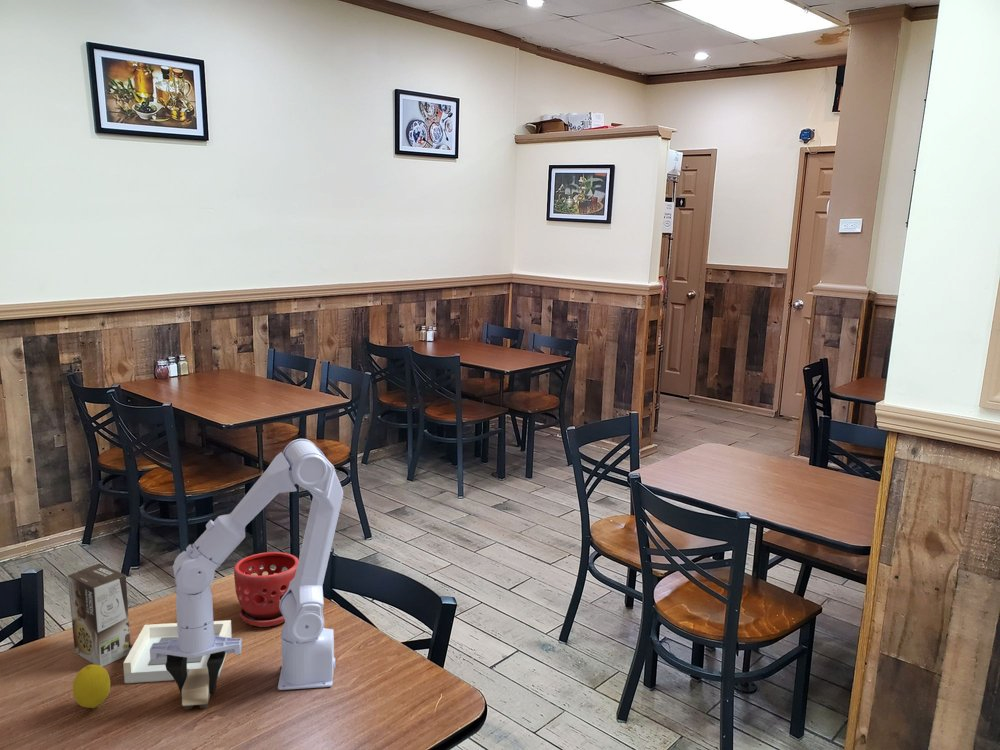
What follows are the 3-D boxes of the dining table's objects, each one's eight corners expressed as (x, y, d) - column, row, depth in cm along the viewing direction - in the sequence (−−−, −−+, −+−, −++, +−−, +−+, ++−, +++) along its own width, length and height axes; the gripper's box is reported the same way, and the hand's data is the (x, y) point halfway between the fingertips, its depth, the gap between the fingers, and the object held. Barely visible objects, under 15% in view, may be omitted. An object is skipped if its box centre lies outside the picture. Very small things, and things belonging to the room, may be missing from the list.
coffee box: (133, 653, 142) (127, 574, 139) (99, 669, 136) (93, 588, 133) (105, 637, 147) (100, 561, 143) (72, 652, 141) (66, 574, 138)
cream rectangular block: (214, 688, 132) (213, 667, 131) (207, 710, 126) (206, 688, 125) (191, 690, 131) (189, 669, 130) (182, 712, 125) (181, 689, 125)
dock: (231, 638, 148) (230, 620, 147) (218, 677, 135) (217, 657, 135) (145, 643, 145) (144, 624, 144) (124, 683, 133) (123, 663, 132)
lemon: (103, 693, 130) (100, 651, 128) (117, 707, 126) (114, 664, 125) (69, 708, 125) (65, 665, 124) (83, 722, 122) (79, 679, 120)
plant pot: (312, 615, 158) (312, 562, 155) (257, 639, 148) (255, 583, 146) (278, 594, 166) (277, 544, 164) (223, 615, 156) (221, 562, 154)
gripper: (243, 606, 131) (246, 675, 133) (156, 610, 128) (160, 680, 131) (236, 627, 124) (239, 699, 127) (144, 632, 122) (149, 706, 124)
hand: (198, 691), depth 128 cm, fingers closed on cream rectangular block, 4 cm apart
